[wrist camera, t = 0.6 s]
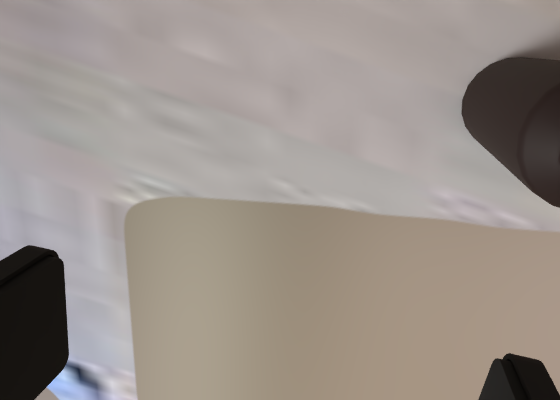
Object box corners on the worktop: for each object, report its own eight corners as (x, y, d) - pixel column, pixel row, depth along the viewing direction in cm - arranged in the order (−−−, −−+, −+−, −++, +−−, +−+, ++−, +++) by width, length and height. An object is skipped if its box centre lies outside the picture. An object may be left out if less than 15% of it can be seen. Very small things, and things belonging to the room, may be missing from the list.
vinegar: (559, 138, 34) (782, 250, 15) (465, 154, 36) (563, 271, 17) (555, 47, 32) (803, 48, 13) (455, 68, 34) (554, 95, 15)
